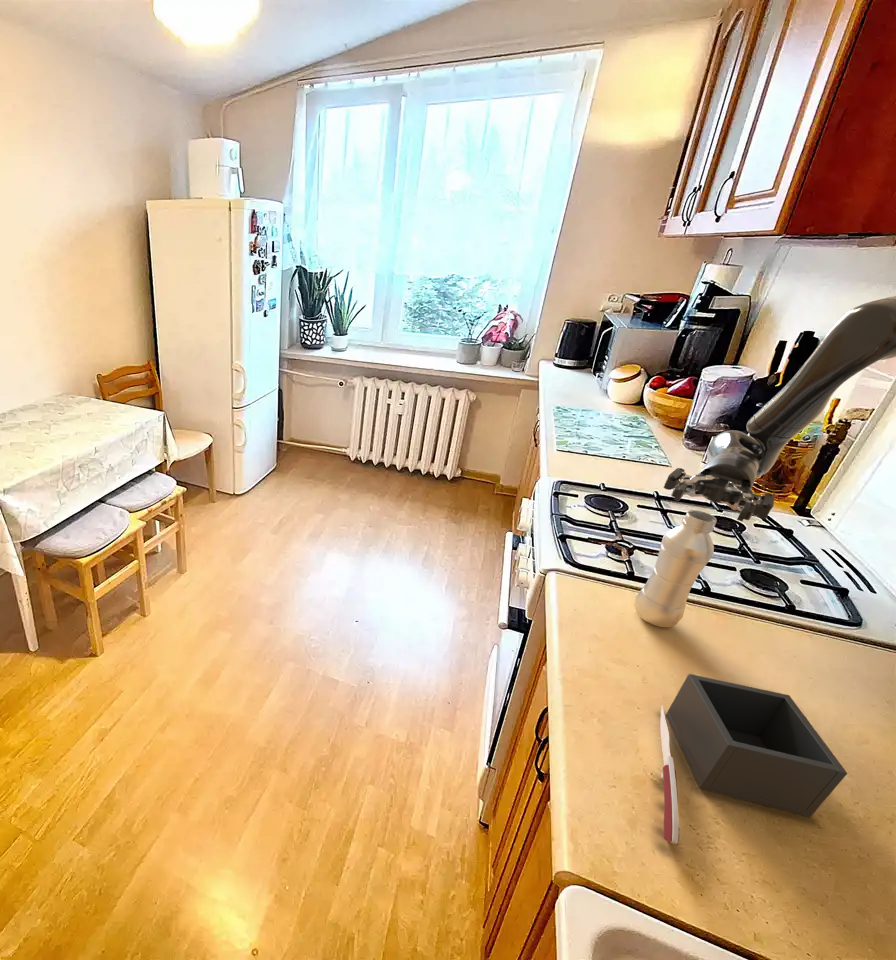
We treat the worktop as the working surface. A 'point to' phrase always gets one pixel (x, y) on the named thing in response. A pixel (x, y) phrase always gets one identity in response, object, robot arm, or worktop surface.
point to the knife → (669, 787)
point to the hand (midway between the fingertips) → (709, 505)
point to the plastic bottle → (676, 570)
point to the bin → (752, 745)
